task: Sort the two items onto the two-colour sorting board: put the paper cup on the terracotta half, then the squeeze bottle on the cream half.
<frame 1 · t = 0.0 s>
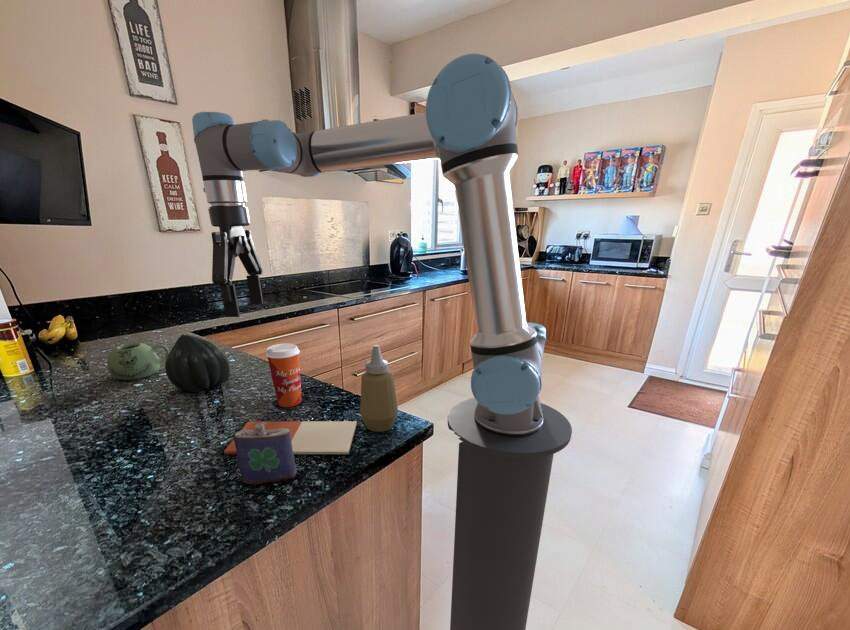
hand: (246, 309, 88), 23 cm above the countertop, tool pointing down, fingers open, 13 cm apart
flask: (269, 478, 68), on the countertop
squash: (202, 386, 106), on the countertop
squeeze bottle: (379, 426, 84), on the countertop
mug: (143, 373, 116), on the countertop
paper cup: (290, 402, 96), on the countertop
sorting board: (294, 437, 80), on the countertop
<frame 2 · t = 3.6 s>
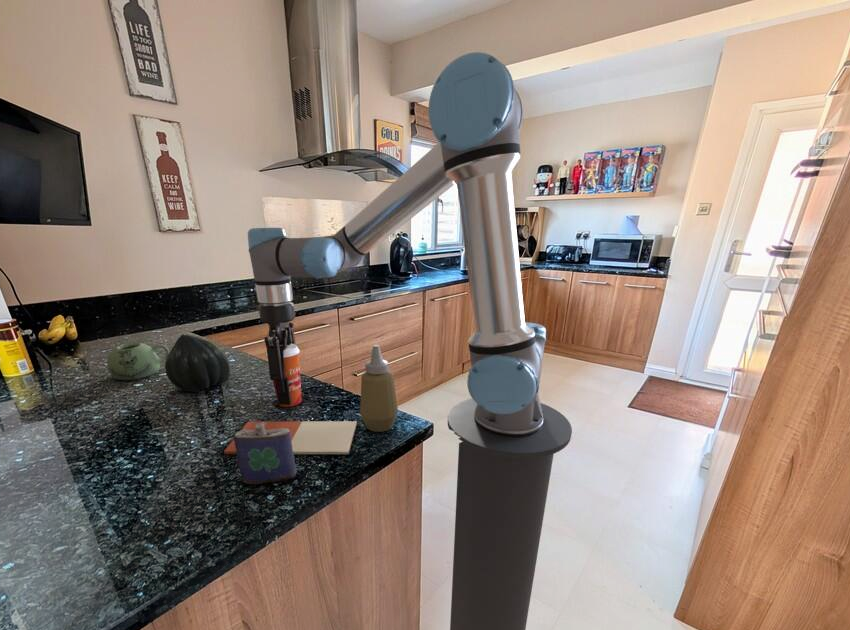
hand: (289, 397, 95), 1 cm above the countertop, tool pointing down, fingers closed on paper cup, 6 cm apart
paper cup: (290, 402, 96), on the countertop, touching gripper
everything else where it was.
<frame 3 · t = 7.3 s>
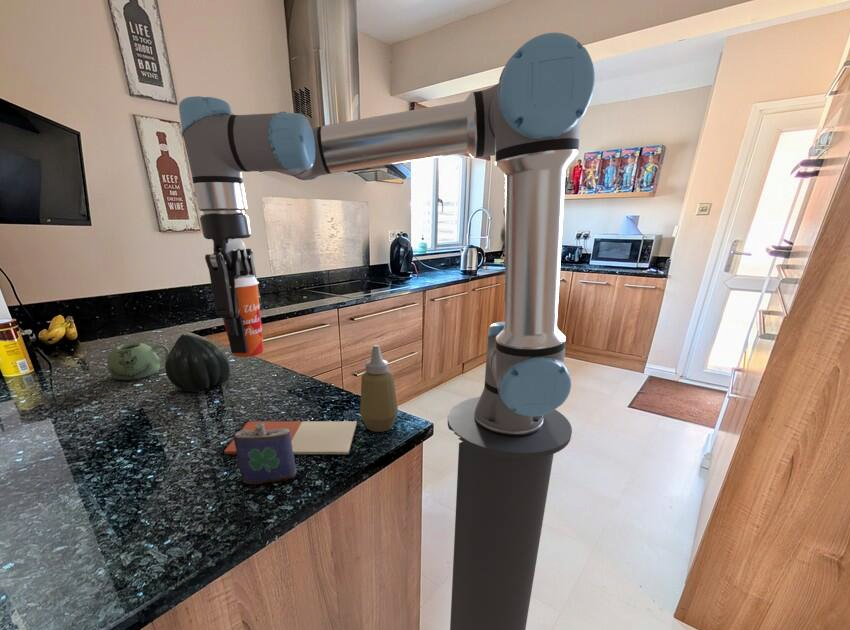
hand: (247, 346, 74), 19 cm above the countertop, tool pointing down, fingers closed on paper cup, 6 cm apart
paper cup: (249, 353, 74), point 18 cm above the countertop, touching gripper
everything else where it was.
when the fingers open (2 cm above the countertop, at t = 11.5 s): paper cup stays where it is, resting on sorting board.
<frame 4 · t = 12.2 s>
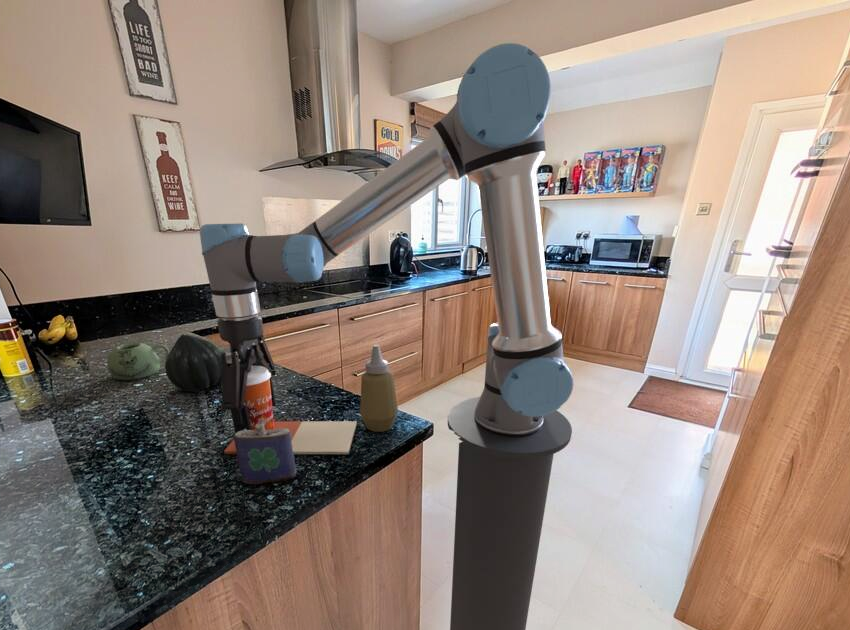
hand: (258, 420, 79), 4 cm above the countertop, tool pointing down, fingers open, 13 cm apart
paper cup: (260, 435, 80), resting on sorting board
everything else where it was.
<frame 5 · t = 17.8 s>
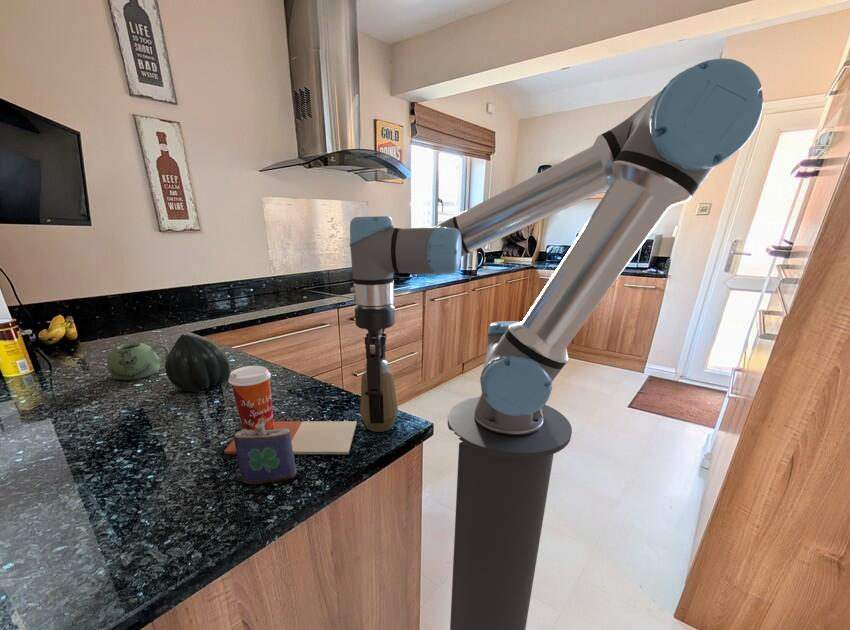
hand: (379, 412, 83), 3 cm above the countertop, tool pointing down, fingers closed on squeeze bottle, 8 cm apart
squeeze bottle: (379, 426, 84), on the countertop, touching gripper
everything else where it was.
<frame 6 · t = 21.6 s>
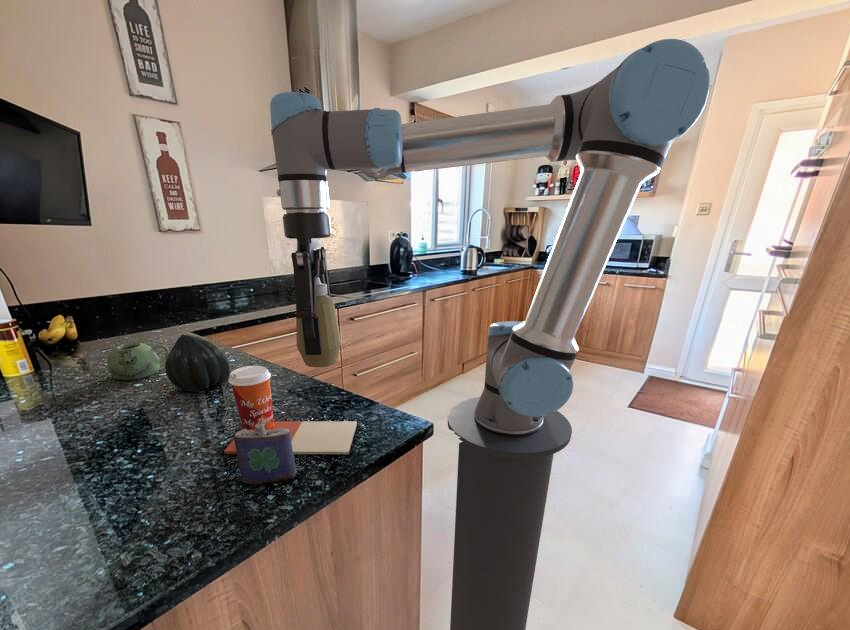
hand: (319, 346, 72), 19 cm above the countertop, tool pointing down, fingers closed on squeeze bottle, 8 cm apart
squeeze bottle: (321, 364, 74), point 16 cm above the countertop, touching gripper
everything else where it was.
when the fingers open (4 cm above the countertop, at t = 25.5 s): squeeze bottle stays where it is, resting on sorting board.
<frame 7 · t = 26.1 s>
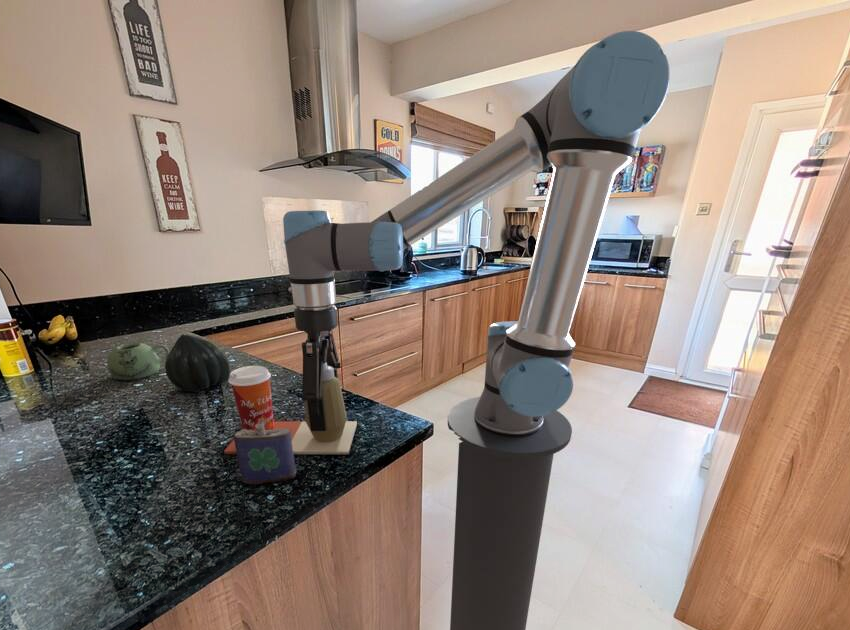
hand: (326, 413, 78), 6 cm above the countertop, tool pointing down, fingers open, 13 cm apart
squeeze bottle: (328, 436, 80), resting on sorting board
everything else where it was.
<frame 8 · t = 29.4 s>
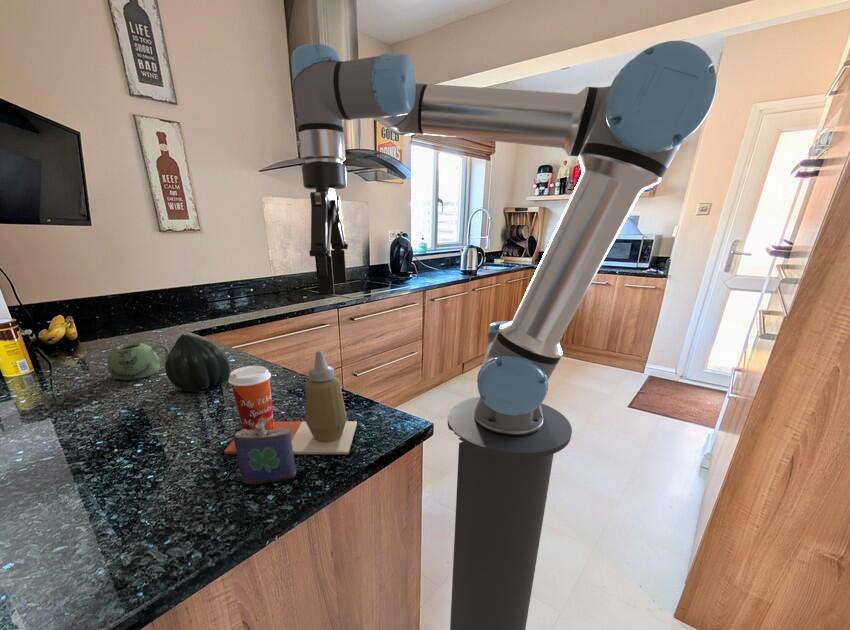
hand: (334, 288, 76), 29 cm above the countertop, tool pointing down, fingers open, 13 cm apart
nothing on the countertop moved.
at the end: paper cup inside the target area on the sorting board (0.3 cm from its centre), point 0.4 cm above the sorting board's base; squeeze bottle inside the target area on the sorting board (0.2 cm from its centre), point 0.4 cm above the sorting board's base; squeeze bottle tilted 0° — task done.
